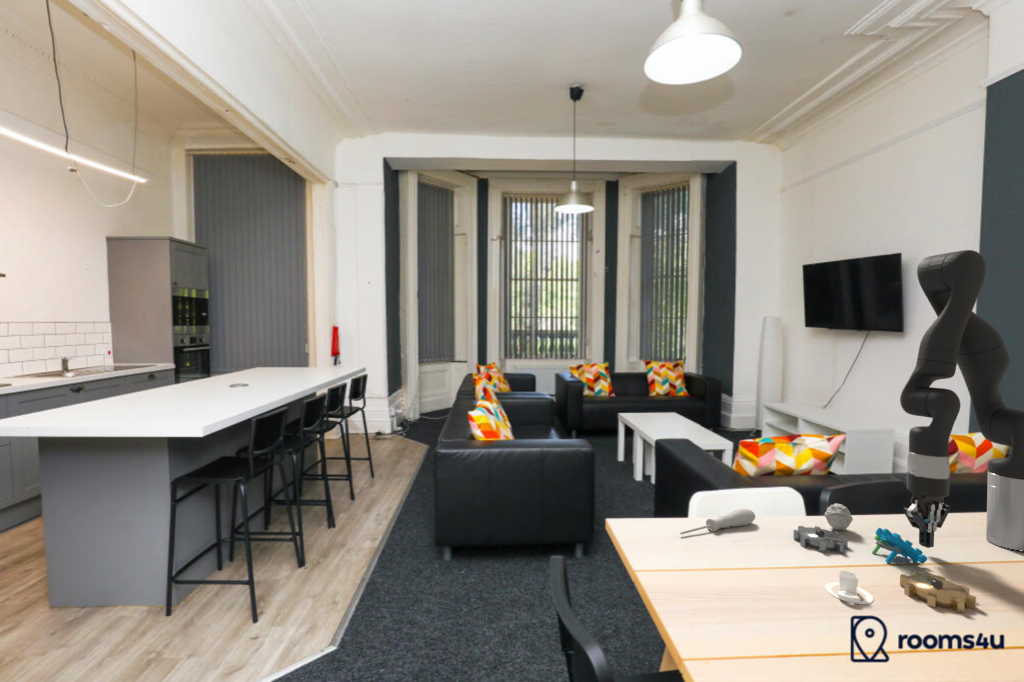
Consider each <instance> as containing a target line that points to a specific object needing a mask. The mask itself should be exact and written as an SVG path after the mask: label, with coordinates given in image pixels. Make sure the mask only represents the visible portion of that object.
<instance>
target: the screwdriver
mask: <svg viewBox="0 0 1024 682" xmlns="http://www.w3.org/2000/svg"><path fill="white" fill-rule="evenodd" d="M755 519H756V514H755V512H754V511H753V510H751V509H749V508H740V509H735V510H732V511H730V512H729V513H727V514H725V515H722V516H718V517H717V518H716V519H714V518H709V519H706V520H705V521H706V523H705V524H706V525H704V526H699V527H695V528H692V529H688V530H683V531H681V532H680V533H679V534H680V535H685V534H688V533H689V534H690V533H693V532H696V531H701V530H703V529H708V528H710V529H712V530H714V531H715V532H717V531H718V530H720V529H728V528H731V527H730V526H732V527H745V526H747V525H750V524H751V523H753V522H754V521H755ZM727 527H728V528H727Z"/></svg>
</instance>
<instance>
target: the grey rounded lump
mask: <svg viewBox="0 0 1024 682" xmlns="http://www.w3.org/2000/svg"><path fill="white" fill-rule="evenodd" d="M824 517H825V519H826V520H827V523H828V525H829V526H830V527H831V528H833V529H835V530H839V531H843V530H846V529H847V528H848V527H850V525H851V523H852V522H853V521H854V519H853V516H852V514H851V511H850V510H849V509H848V507H847V506H845V505H843V504H841V503H837V502H835V503H833V504H830V506H828V507H827V508H826V511H825V512H824Z"/></svg>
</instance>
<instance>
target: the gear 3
mask: <svg viewBox="0 0 1024 682" xmlns="http://www.w3.org/2000/svg"><path fill="white" fill-rule="evenodd" d="M899 586H900V587H903V588H904V591H903V592H904V593H903V594H905V595H906V596H907V597H912V598H914V597H915V598H917V600H920V601H923V602H924V603H926V606H928V607H931V608H934V609H936V607H939V608H945V609H949V608H952V609H951V610H953V609H954V610H953V611H954V612H956V611H957V612H956V613H959V612H963V613H964V614H965V609H966V608H969V609H973V610H976V609H977V596H975V595H972V594H970V592H971V591H970V588H969V587H968V586H966V585H960V584H959V585H958V584H956V583H954V582H952V581H950V580H947V579H946V577H944V576H941V575H937V576H933V575H928V574H922V573H921V572H919V571H911V574H910V575H906V574H902V573H901V574H900V576H899ZM963 613H962V614H963Z"/></svg>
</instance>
